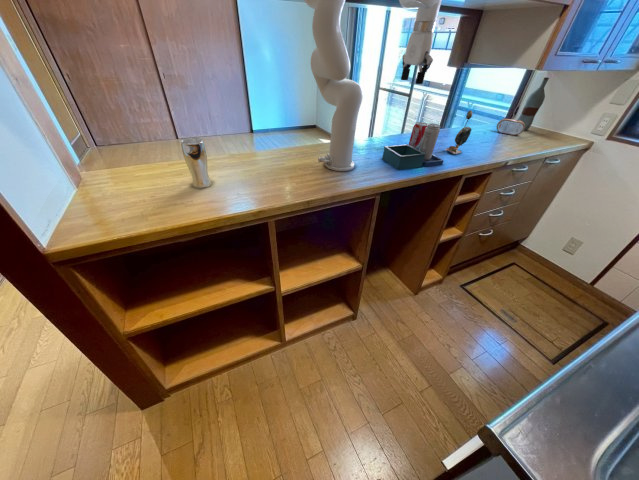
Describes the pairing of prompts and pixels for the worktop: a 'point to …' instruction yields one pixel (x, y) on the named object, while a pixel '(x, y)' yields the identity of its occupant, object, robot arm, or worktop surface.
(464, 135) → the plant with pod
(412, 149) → the basket
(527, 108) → the bottle
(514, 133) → the tin
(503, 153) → the worktop surface
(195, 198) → the worktop surface
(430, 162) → the tray
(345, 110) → the robot arm
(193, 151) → the beer glass
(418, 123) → the soda can
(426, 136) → the energy drink can
